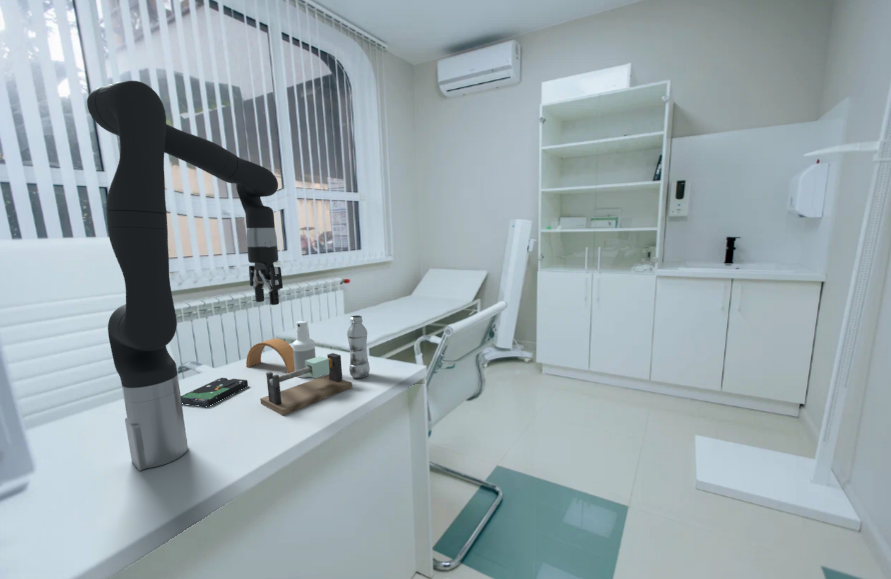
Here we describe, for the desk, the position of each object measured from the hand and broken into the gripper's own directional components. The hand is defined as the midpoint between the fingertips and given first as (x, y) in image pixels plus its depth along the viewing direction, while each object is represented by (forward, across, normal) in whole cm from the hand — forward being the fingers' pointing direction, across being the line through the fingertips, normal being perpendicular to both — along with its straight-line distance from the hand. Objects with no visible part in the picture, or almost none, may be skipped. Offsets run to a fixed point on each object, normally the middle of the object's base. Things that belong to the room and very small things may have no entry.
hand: (267, 303), depth 107 cm
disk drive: (+28, -16, -10) cm, 34 cm away
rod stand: (+27, +7, +6) cm, 29 cm away
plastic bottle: (+27, +8, +24) cm, 37 cm away
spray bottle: (+27, -9, +15) cm, 32 cm away
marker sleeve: (+22, +7, +10) cm, 25 cm away
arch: (+28, -24, +12) cm, 39 cm away
